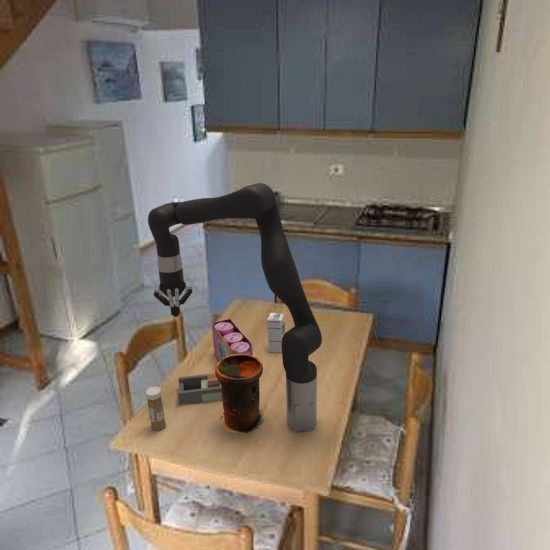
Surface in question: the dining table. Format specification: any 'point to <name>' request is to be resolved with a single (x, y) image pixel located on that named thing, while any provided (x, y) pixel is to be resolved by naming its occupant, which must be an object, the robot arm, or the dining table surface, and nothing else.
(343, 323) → the dining table surface
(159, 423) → the sprinkles bottle
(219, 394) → the channel
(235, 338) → the gum box
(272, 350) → the syrup box
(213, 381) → the block
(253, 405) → the vessel
